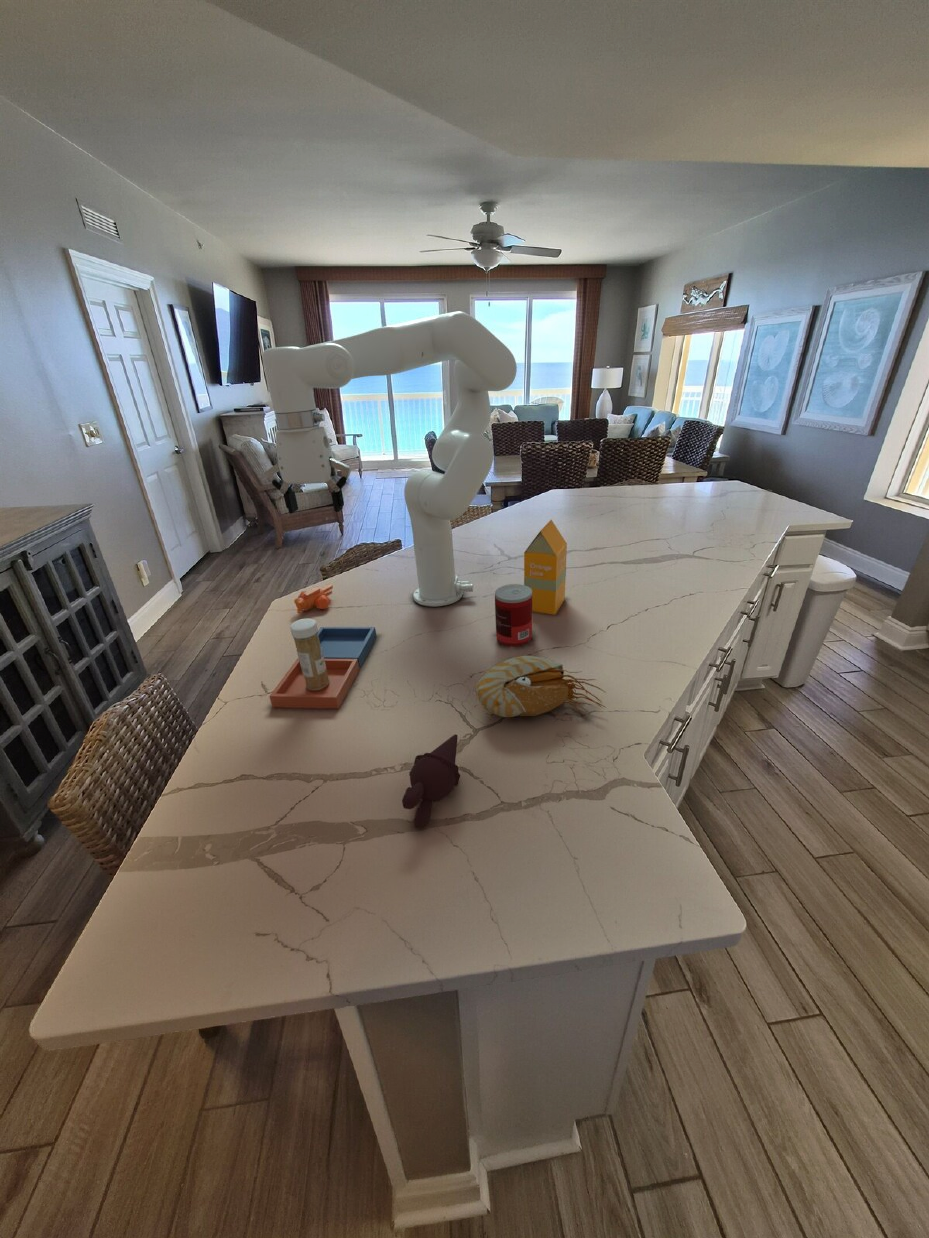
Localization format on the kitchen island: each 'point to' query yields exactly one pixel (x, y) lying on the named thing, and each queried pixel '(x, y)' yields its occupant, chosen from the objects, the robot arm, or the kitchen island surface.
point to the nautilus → (528, 687)
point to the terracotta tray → (298, 696)
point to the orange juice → (546, 569)
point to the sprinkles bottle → (310, 654)
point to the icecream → (432, 780)
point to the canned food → (513, 614)
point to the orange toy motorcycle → (314, 598)
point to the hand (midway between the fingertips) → (316, 511)
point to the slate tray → (346, 642)
